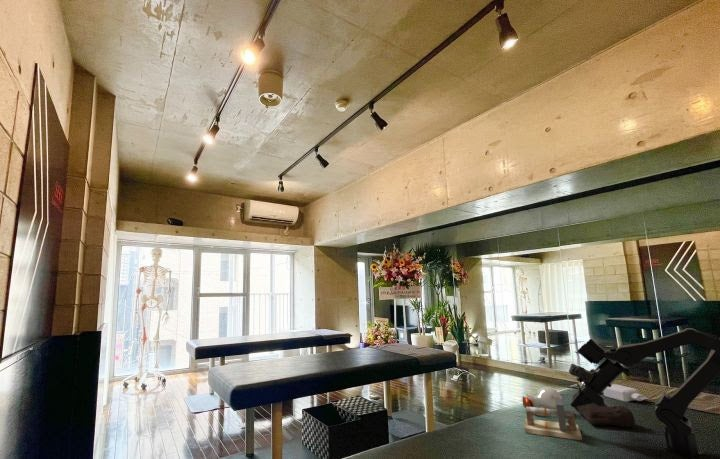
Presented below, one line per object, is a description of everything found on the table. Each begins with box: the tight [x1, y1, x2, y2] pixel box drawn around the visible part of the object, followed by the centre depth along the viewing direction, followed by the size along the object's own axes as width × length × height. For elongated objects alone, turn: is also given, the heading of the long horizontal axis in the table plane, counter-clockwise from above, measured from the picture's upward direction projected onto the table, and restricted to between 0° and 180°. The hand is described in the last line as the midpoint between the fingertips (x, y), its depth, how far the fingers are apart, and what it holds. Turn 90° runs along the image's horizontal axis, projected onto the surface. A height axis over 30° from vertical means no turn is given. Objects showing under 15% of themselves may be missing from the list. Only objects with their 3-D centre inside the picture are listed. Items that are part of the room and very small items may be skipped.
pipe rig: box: [524, 407, 583, 441], centre depth 121 cm, size 17×10×7 cm, turn 64°
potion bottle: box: [522, 386, 563, 410], centre depth 141 cm, size 9×10×15 cm
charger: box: [603, 383, 648, 403], centre depth 152 cm, size 5×9×15 cm
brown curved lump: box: [571, 393, 636, 428], centre depth 128 cm, size 10×15×15 cm
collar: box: [555, 398, 567, 431], centre depth 120 cm, size 2×8×8 cm, turn 154°
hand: (571, 405), depth 119 cm, fingers closed
